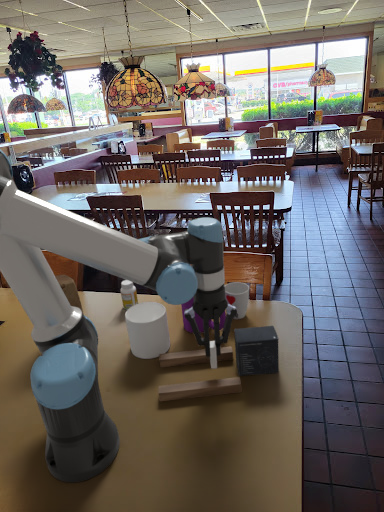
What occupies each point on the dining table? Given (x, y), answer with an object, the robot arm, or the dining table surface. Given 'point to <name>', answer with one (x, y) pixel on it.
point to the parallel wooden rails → (202, 386)
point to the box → (256, 350)
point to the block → (69, 290)
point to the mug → (199, 318)
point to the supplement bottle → (128, 294)
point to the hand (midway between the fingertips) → (213, 364)
